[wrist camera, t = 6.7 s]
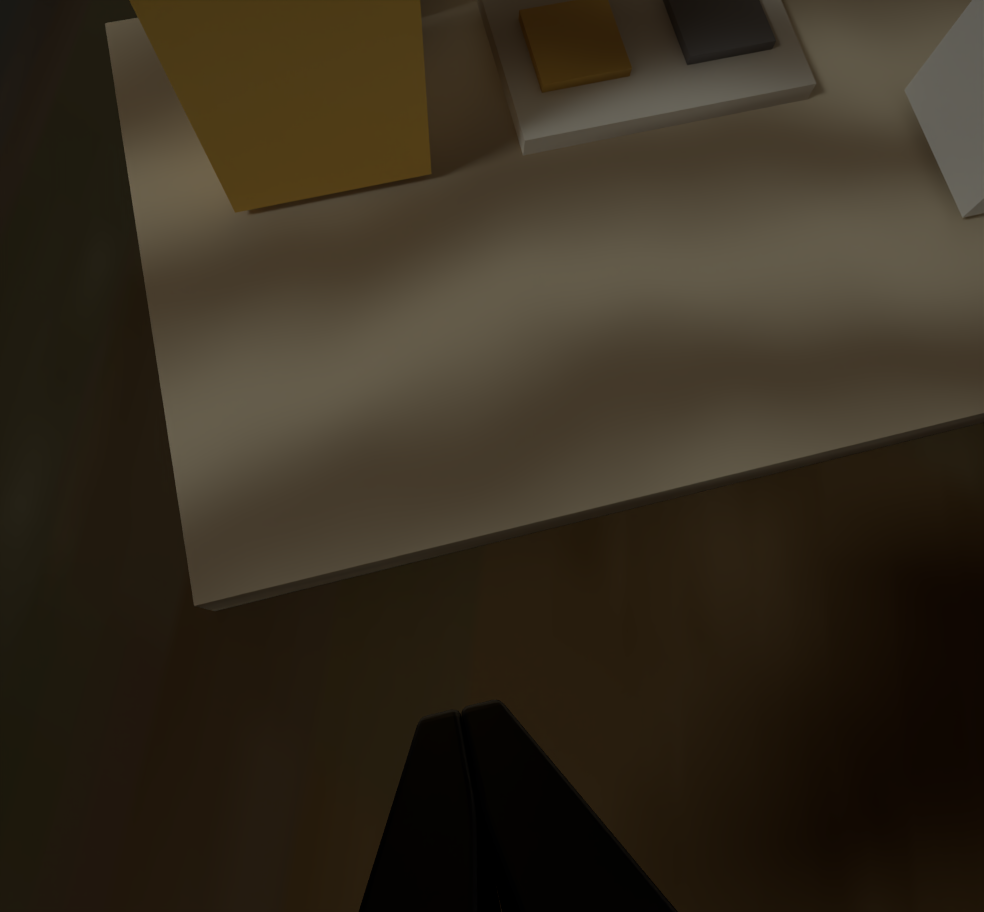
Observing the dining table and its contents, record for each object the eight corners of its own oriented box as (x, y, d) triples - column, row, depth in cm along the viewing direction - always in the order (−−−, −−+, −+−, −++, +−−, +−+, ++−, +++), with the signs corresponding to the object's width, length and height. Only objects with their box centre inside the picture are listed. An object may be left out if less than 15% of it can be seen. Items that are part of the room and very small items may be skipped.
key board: (1244, 357, 21) (1442, 278, 17) (215, 611, 19) (140, 592, 14) (1006, -91, 25) (1117, -248, 21) (127, 64, 23) (48, -79, 18)
